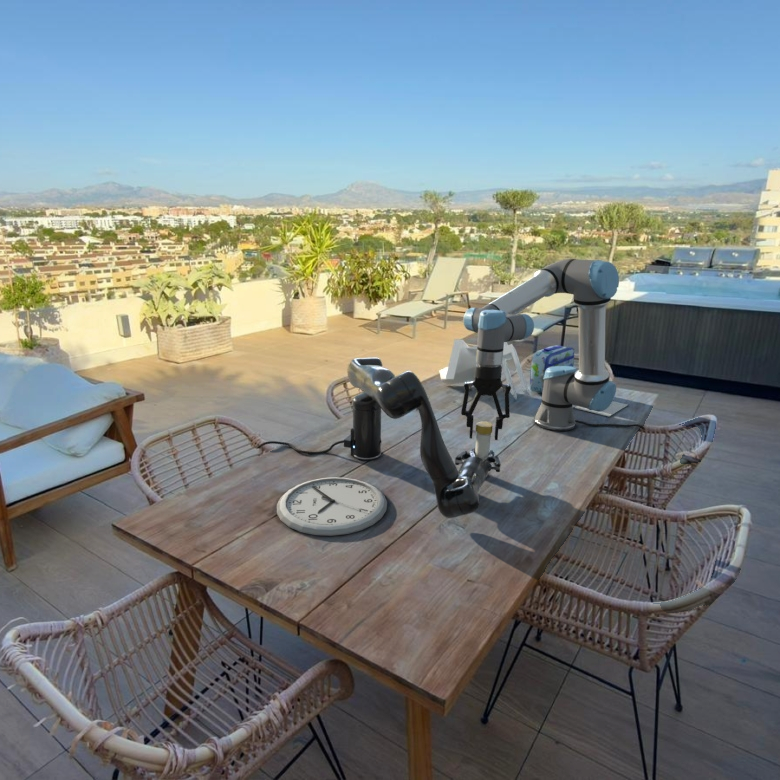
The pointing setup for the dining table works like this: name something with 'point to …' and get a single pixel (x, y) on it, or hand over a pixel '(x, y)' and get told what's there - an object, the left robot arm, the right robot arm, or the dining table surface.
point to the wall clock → (331, 506)
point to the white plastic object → (465, 365)
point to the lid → (484, 427)
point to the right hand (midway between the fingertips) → (483, 437)
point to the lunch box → (548, 363)
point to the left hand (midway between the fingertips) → (483, 451)
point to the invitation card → (609, 411)
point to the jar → (482, 445)
